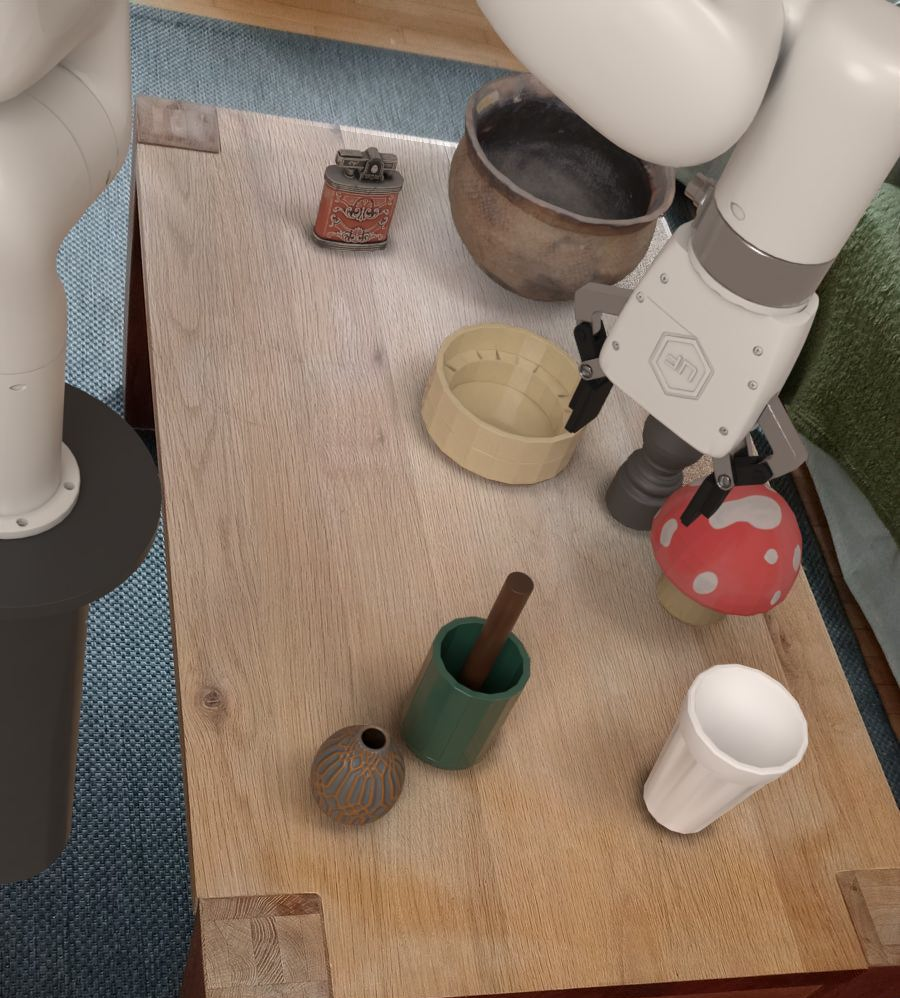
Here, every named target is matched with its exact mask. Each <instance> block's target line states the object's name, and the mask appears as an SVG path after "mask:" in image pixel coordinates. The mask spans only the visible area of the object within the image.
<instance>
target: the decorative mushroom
mask: <svg viewBox="0 0 900 998" xmlns="http://www.w3.org/2000/svg"><path fill="white" fill-rule="evenodd" d="M709 475H710V474H707V475H703V476H700V477H698V478H695V479H693V480H692V481H690V482H688V483H686V484H685V485H682V487H681V488H680V489H678V490H676V491H675V492H674V493H673V494H671V495H670V496H669V497H668V498H667V500H666V501H665V502H664V504H663V505H662V507H661V508H660V509H659V511H658V512H657V514H656V515H655V517H654V518H653V522H652V529H651V530H650V535H649V537H650V538H649V539H650V543H651V547H652V551H653V556H654V559H655V561H656V562H657V564H658V565H659V567H660V569H661V571H662V573H661V574H660V576H659V577H658V579H657V582H656V594H657V598H658V599H659V601H660V603H661V604H662V606H663V607H664V609H665V610H666V611H667V613H668V614H670V615H671V616H672V618H674V619H676V620H677V621H678V622H680V623H683V624H686V625H688V626H696V627H697V626H698V627H707V626H712V625H716V624H717V623H719V622H721V621H722V620H724V618H725V617H726V615H729V616H738V617H739V616H740V617H751V616H755V615H760V614H761V615H762V614H766V613H769V611H771V610H773V609H774V608H776V607H777V606H778V605H780V604H781V603H784V601H785V599H786V598H787V596H788V594H789V593H790V591H791V589H792V588H793V586H794V585H795V582H796V580H797V579H798V576H799V573H800V571H801V567H802V566H801V565H802V557H803V556H802V555H803V536H802V533H801V530H800V527H799V523H798V520H797V517H796V515H795V512H794V511H793V510H792V508H791V506H789V505H790V504H788V502H787V501H786V499H785V497H783V496H782V495H781V494H780V493H778V491H776V489H775V488H773V487H772V486H770V485H769V484H767V483H765V484H762V485H747V486H734V487H733V488H732V490H731V491H730V493H729V494H728V496H727V497H726V499H725V500H724V502H723V503H722V505H721V506H720V507H719V509H718V510H717V511H716V512H715V513H714V514H713V515H712V516H711V517H710V518H709V519H707V518H706V517H705V516H704V515H702V514H701V515H700V516H699V517H698V518H697V519H696V520H695V521H694V522H692V523H691V524H690V525H689V526H688V527H686V526H685V525H683V524H682V523H681V519H680V517H681V515H682V514H683V512H684V511H685V509H686V507H687V506H688V504H689V503H690V501H691V499H692V498H693V496H694V495H695V493H696V492H697V490H698V488H699V487H700V485H701V484H702V482H703V481H704V479H705V478H706V477H707V476H709Z"/></svg>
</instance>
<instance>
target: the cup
mask: <svg viewBox="0 0 900 998" xmlns="http://www.w3.org/2000/svg"><path fill="white" fill-rule="evenodd" d="M808 729H809V726H808V722H807V720H806V717H805V715H804V713H803V711H802V708H801V706H800V704H799V701H797V700H796V698H795V697H794V696H793V695H792V694H791V693H790V692H789V690H788V689H787V688H786V687H785V686H784V685H783V684H782V683H781V682H779V681H778V680H776V679H774V678H773V677H771V676H770V675H769V674H767V673H765V672H763V671H762V670H760V669H756V668H753V667H749V666H746V665H742V664H740V663H727V664H725V663H724V664H714V665H712V666H711V667H708V668H707V669H705V670H703V671H702V672H699V673H697V675H696V677H695V678H694V680H693V682H692V684H691V685H690V687H689V688H688V690H687V693H685V696H684V698H683V700H682V702H681V703H680V710H679V714H678V716H677V718H676V721H675V722H674V724H673V726H672V728H671V730H670V733H669V734H668V736H667V739H666V740H665V742H664V745H663V746H662V748H661V751H660V753H659V755H658V756H657V758H656V760H655V763H654V765H653V767H652V769H651V771H650V773H649V775H648V777H647V779H646V781H645V783H644V784H643V797H642V798H643V800H644V803H645V805H646V808H647V811H648V812H649V814H650V815H651V817H653V818H654V819H655V821H656V822H657V823H658V824H660V825H662V826H663V827H664V828H666V829H668V830H669V831H672V832H675V833H679V834H682V835H686V834H687V835H688V834H696V833H699V832H700V831H702V830H705V829H706V828H707V827H708V826H710V825H711V824H713V823H714V822H715V821H716V820H718V819H720V818H721V817H723V816H724V815H725V814H727V813H728V812H729V811H732V809H734V808H735V807H737V806H738V805H739V804H741V803H743V802H744V801H745V800H746V799H748V798H750V797H751V796H752V795H754V794H756V792H758V791H759V790H761V789H763V788H764V787H765V786H766V785H768V784H769V783H772V782H774V781H776V780H777V779H779V778H781V777H782V776H784V775H786V774H787V773H788V772H789V771H791V770H792V769H793V768H794V767H796V766H797V765H799V764H800V763H801V761H802V759H803V757H804V755H805V753H806V751H807V749H808V748H809V747H808V746H809V730H808Z"/></svg>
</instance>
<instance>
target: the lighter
mask: <svg viewBox="0 0 900 998" xmlns="http://www.w3.org/2000/svg"><path fill="white" fill-rule="evenodd" d="M398 162H399V158H398V156H397V154H395V153H389V152H379V150H378V147H375V146H369V147H367V148H366V149H365V150H364V151H362V150H360V149H348V148H340V149H338V150H337V151H336V155H335V158H334V163H335V164H329V165H327V166H326V167H325V170H324V173H323V174H324V175H323V180H324V183H323V187H322V190H321V191H322V192H321V197H320V202H319V204H318V205H319V206H318V209H317V210H318V211H317V213H316V218H315V223H314V224H313V226H312V230H311V233H310V240H311V242H312V243H313V244H314V245H315V246H317V247H318V248H321V249H326V250H332V251H337V252H349V253H370V252H379V251H383V250H385V249H386V248H387V244H388V242H389V241H388V240H389V235H388V234H389V231H390V227H391V223H392V220H393V217H394V214H395V213H394V212H395V209H396V206H397V202H398V198H399V195H400V192H401V191H402V190H403V187H404V184H405V177H404V176H403V174H402V173H400V171H398V170H397V166H398Z"/></svg>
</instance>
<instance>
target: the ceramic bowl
mask: <svg viewBox="0 0 900 998" xmlns="http://www.w3.org/2000/svg"><path fill="white" fill-rule="evenodd" d="M447 181H448V183H447V184H448V186H447V187H448V189H447V190H448V191H447V192H448V194H447V197H448V201H449V206H450V214H451V219H452V221H453V225H454V227H455V230H456V232H457V234H458V236H459V237H460V240H461V241H462V243H463V245H464V246H465V248H466V250H467V251H468V253H469V254H470V256H471V257H472V259H473V261H474V262H475V264H476V265H477V266H478V268H480V270H481V271H482V272H483V274H485V275H486V276H487V277H488V278H490V279H491V280H492V281H494V282H495V283H496V284H498V285H499V286H500V287H501V288H503V289H505V290H508V291H510V292H512V293H514V294H516V295H518V296H520V297H523V298H525V299H529V300H533V301H538V302H544V303H558V302H559V303H560V302H574V295H575V292H576V290H578V289H579V288H581V287H583V286H584V285H586V284H587V283H589V282H593V283H599V284H604V285H610V286H615V285H616V284H618V283H619V282H621V281H623V280H624V279H626V278H627V277H628V276H629V275H630V274H632V273H633V272H634V271H635V270H636V269H637V267H638V266H639V265H640V264H641V262H642V261H643V259H644V258H645V257H646V255H647V253H648V251H649V249H650V246H651V243H652V240H653V238H654V235H655V232H656V228H657V224H658V219H659V217H660V216H662V215H663V214H665V213H666V212H667V211H668V210H669V209H670V208H671V206H672V204H673V201H674V199H675V194H676V167H668V166H661V165H657V164H654V163H651V162H648V161H645V160H642V159H640V158H638V157H636V156H635V155H633V154H631V153H629V152H627V151H625V150H623V149H622V148H620V147H618V146H617V145H616V144H614V143H613V142H611V141H610V140H609V139H607V138H606V137H605V136H603V135H602V134H601V133H599V132H598V131H597V130H595V129H594V128H593V127H592V126H591V125H589V124H588V123H587V122H586V121H585V120H583V119H582V118H581V117H580V116H579V115H578V114H576V113H575V112H574V111H573V110H572V109H571V108H570V107H568V106H567V105H566V104H565V103H564V102H563V101H561V100H560V99H559V98H558V97H557V96H556V95H555V94H553V93H552V92H551V91H550V90H549V89H548V88H547V87H546V86H544V85H543V84H542V83H541V82H540V81H539V80H538V79H537V78H535V77H534V76H533V75H532V74H531V73H530V72H523V73H515V74H511V75H507V76H504V77H501V76H500V77H497V78H495V79H493V80H491V81H490V82H486V83H483V85H481V86H480V87H479V88H478V89H477V90H476V91H475V92H473V94H472V95H470V97H469V99H468V102H467V105H466V107H465V114H464V133H463V134H462V136H461V139H459V142H458V144H457V146H456V148H455V151H454V152H453V156H452V159H451V161H450V167H449V173H448V180H447Z"/></svg>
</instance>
